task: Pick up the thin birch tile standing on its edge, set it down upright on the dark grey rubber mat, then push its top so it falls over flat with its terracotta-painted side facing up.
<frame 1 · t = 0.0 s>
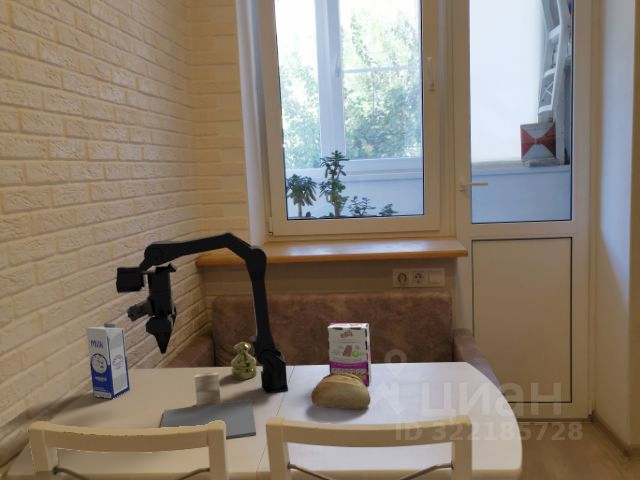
hand: (165, 347, 139), 15 cm above the table, fingers open, 9 cm apart
bread roll: (341, 406, 133), on the table
candy bar box: (350, 382, 148), on the table
tile: (208, 403, 138), on the table
olive tall rounded piece: (244, 375, 156), on the table
mat: (208, 422, 127), on the table
milk carton: (112, 393, 148), on the table
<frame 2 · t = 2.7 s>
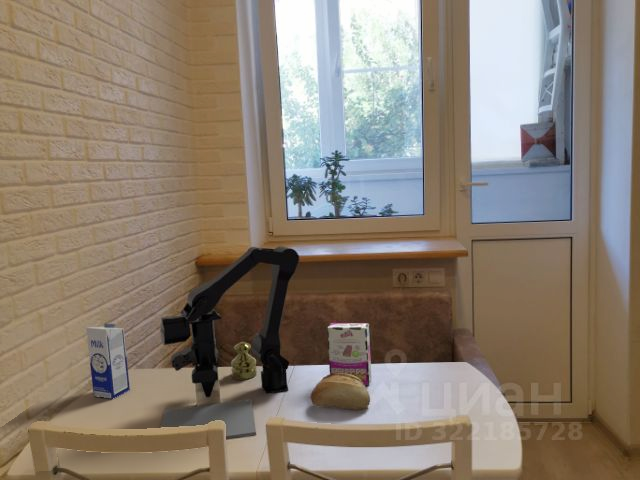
hand: (208, 395, 137), 2 cm above the table, fingers closed on tile, 2 cm apart
tile: (208, 403, 138), on the table, touching gripper
everything else where it was.
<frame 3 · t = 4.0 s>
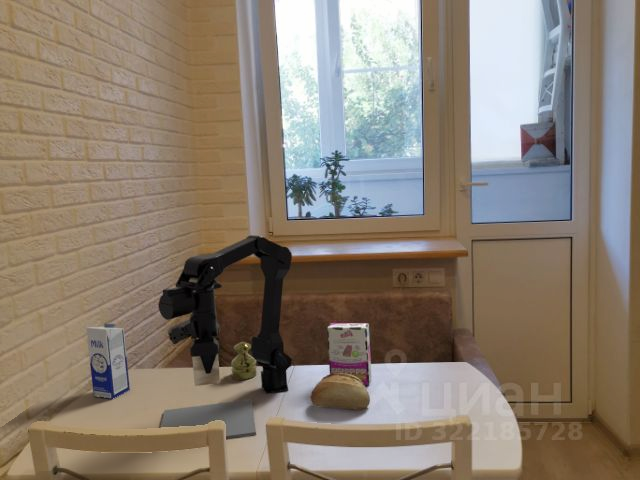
hand: (208, 371, 128), 12 cm above the table, fingers closed on tile
tile: (207, 383, 128), point 9 cm above the table, touching gripper
everything else where it was.
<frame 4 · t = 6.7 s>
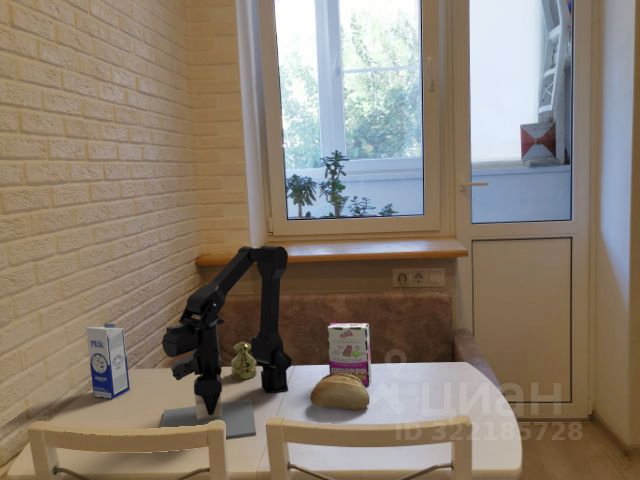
hand: (211, 406, 129), 3 cm above the table, fingers open, 9 cm apart
tile: (209, 416, 129), point 1 cm above the table, touching mat
everything else where it was.
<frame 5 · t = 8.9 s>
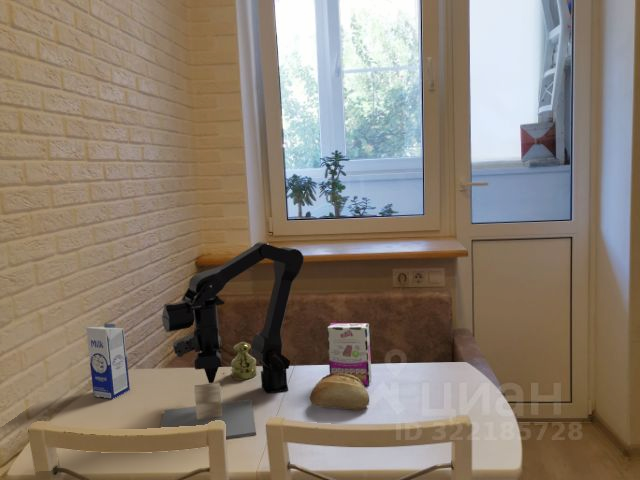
hand: (211, 382, 135), 6 cm above the table, fingers closed
nothing on the table moved.
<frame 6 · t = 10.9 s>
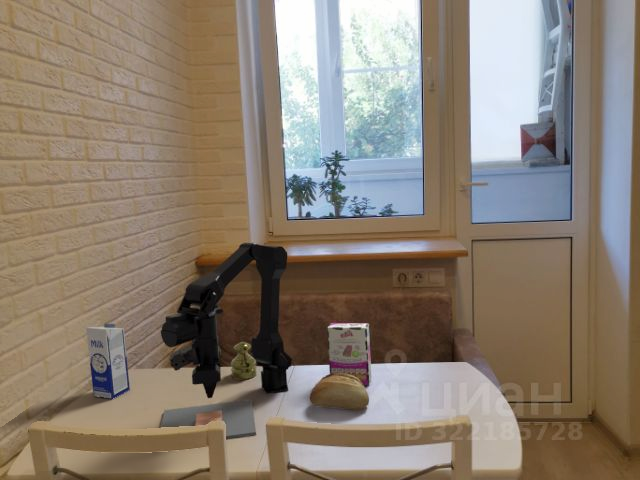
hand: (210, 397, 127), 6 cm above the table, fingers closed
tile: (209, 415, 128), point 1 cm above the table, tilted 90°, touching mat
everything else where it was.
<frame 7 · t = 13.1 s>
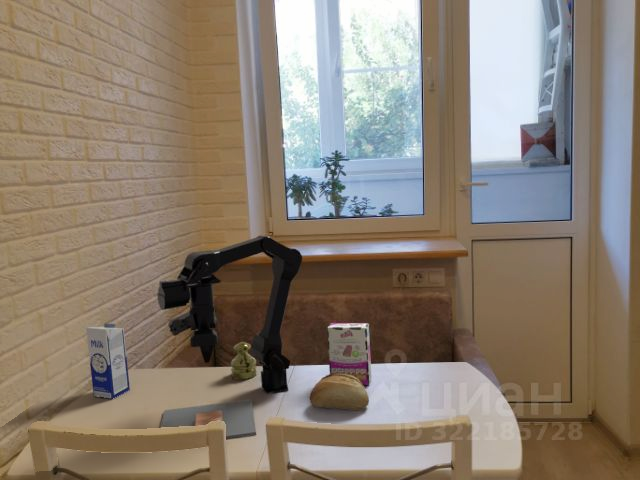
hand: (207, 362, 134), 12 cm above the table, fingers closed
nothing on the table moved.
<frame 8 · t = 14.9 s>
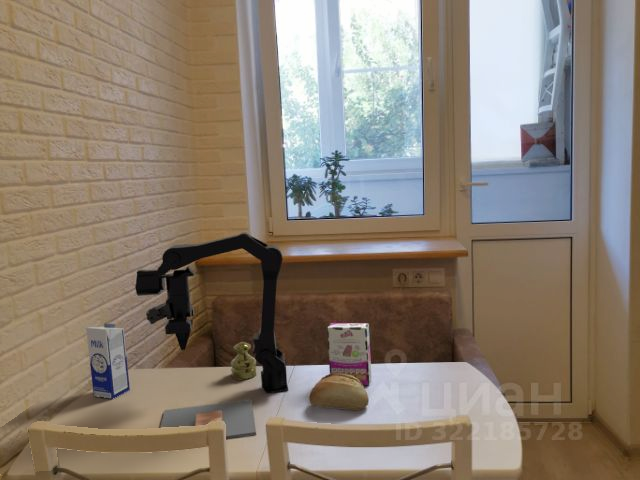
hand: (183, 349, 142), 13 cm above the table, fingers closed
nothing on the table moved.
at the end: tile tilted 90°; tile inside the target area (1.6 cm from its centre), point 1.4 cm above the table; the gripper is holding nothing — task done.
